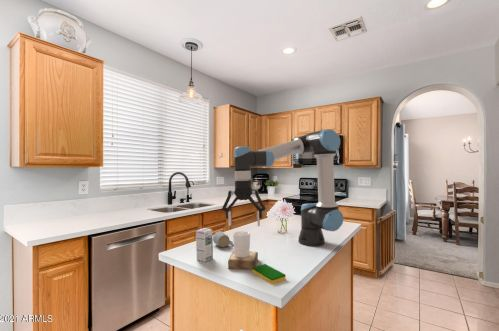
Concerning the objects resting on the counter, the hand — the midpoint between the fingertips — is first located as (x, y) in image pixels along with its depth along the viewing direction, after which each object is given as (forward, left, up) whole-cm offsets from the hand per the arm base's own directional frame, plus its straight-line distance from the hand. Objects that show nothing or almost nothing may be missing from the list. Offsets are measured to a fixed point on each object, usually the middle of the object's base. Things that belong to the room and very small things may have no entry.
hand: (244, 225), depth 115 cm
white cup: (+1, 0, -14) cm, 14 cm away
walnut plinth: (0, 0, -18) cm, 18 cm away
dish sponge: (-12, +11, -18) cm, 24 cm away
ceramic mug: (+16, -26, -18) cm, 35 cm away
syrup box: (+20, -4, -18) cm, 27 cm away
